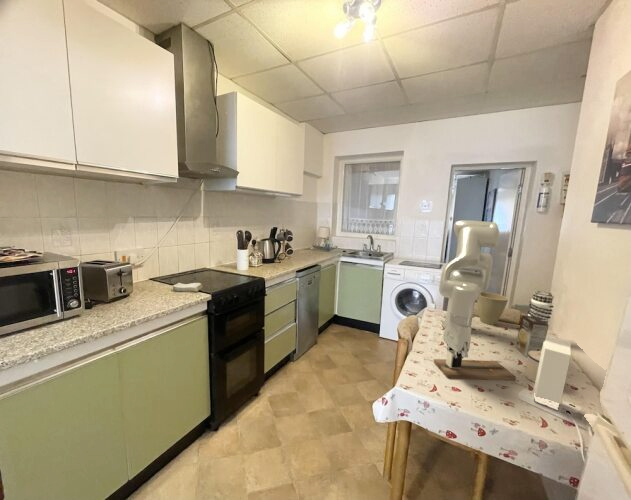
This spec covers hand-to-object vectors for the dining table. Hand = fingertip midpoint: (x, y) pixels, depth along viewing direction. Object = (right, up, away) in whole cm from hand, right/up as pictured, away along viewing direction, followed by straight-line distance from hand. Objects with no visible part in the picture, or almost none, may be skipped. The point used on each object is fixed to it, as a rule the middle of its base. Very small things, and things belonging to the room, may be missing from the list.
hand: (453, 363), depth 100 cm
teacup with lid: (+32, -5, -1) cm, 33 cm away
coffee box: (+43, -3, +18) cm, 47 cm away
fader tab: (0, -1, 0) cm, 1 cm away
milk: (+23, -7, -14) cm, 28 cm away
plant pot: (+47, +1, +52) cm, 70 cm away
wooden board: (+8, -3, +1) cm, 9 cm away
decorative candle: (+58, -2, +33) cm, 67 cm away
